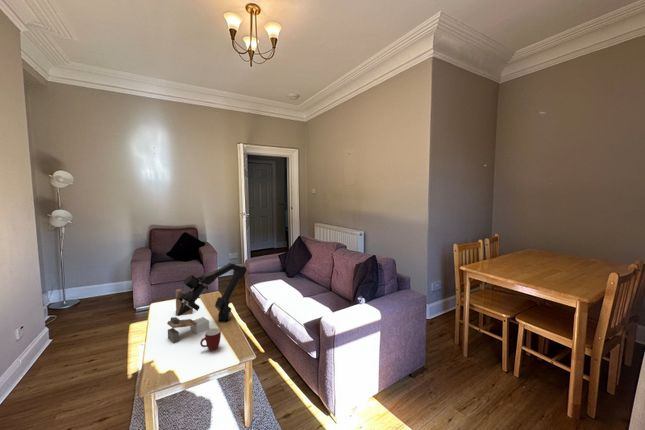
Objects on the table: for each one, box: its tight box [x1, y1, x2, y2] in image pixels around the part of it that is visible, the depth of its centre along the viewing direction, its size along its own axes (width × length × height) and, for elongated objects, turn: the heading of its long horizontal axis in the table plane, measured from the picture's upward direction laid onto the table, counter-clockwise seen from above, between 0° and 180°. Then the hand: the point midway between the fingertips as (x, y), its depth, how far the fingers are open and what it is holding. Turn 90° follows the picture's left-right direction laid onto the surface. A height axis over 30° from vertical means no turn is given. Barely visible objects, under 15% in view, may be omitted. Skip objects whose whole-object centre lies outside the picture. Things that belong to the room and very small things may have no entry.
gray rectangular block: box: [167, 316, 210, 344], centre depth 165 cm, size 22×8×6 cm, turn 141°
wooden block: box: [175, 288, 194, 317], centre depth 192 cm, size 4×11×18 cm, turn 111°
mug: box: [199, 327, 222, 352], centre depth 148 cm, size 10×8×10 cm
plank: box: [166, 316, 197, 329], centre depth 162 cm, size 14×8×4 cm, turn 141°
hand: (178, 315), depth 159 cm, fingers closed
